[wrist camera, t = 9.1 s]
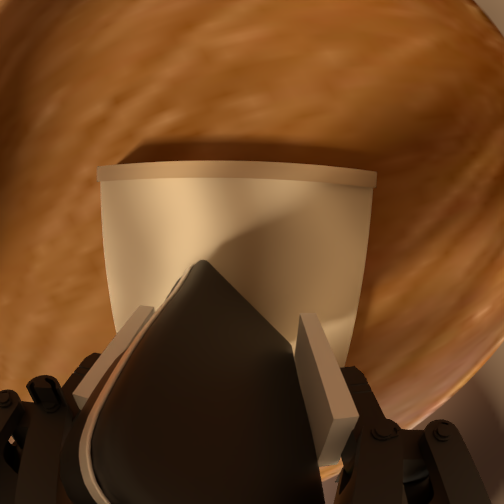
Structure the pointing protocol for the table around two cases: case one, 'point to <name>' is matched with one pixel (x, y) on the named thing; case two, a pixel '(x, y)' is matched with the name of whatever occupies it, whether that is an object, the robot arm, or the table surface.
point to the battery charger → (196, 410)
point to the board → (241, 237)
